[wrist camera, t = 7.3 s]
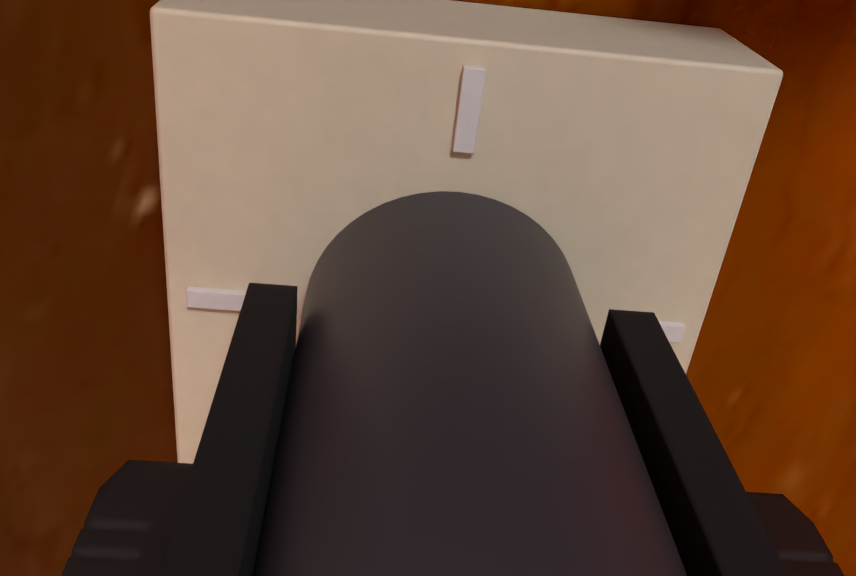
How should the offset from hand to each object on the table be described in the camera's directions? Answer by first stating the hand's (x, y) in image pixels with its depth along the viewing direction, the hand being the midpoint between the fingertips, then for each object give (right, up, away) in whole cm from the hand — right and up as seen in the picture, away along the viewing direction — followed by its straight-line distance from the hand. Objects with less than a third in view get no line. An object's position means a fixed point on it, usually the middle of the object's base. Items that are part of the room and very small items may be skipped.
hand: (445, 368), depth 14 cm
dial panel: (0, +2, +4) cm, 5 cm away
